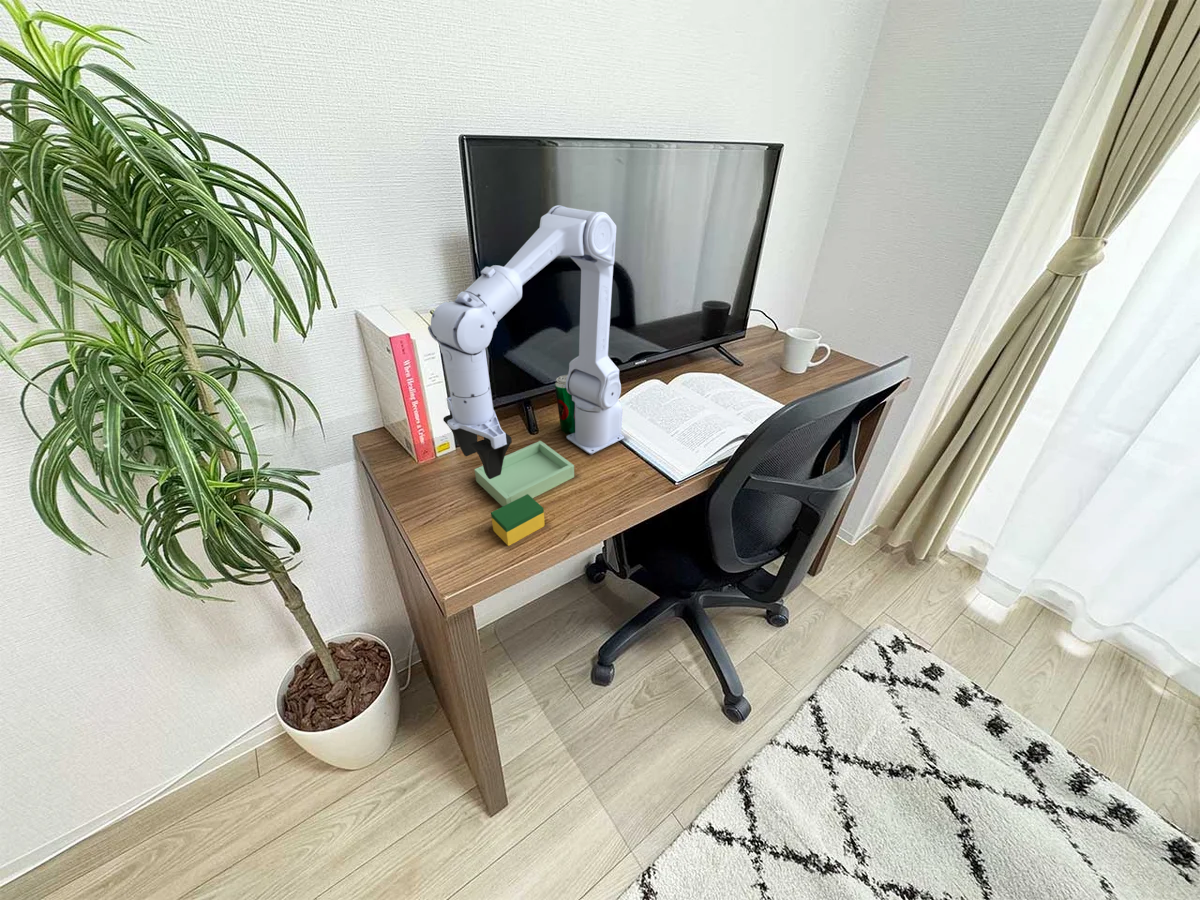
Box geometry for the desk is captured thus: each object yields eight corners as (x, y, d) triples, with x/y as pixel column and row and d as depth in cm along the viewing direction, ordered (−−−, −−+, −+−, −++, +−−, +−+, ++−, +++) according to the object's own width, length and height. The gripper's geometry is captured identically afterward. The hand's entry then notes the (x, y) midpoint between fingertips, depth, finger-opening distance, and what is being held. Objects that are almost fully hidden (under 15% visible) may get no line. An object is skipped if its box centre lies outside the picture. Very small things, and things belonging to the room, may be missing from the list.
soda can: (581, 436, 99) (575, 383, 93) (558, 435, 100) (551, 383, 94) (586, 425, 104) (581, 373, 97) (564, 424, 105) (558, 373, 98)
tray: (541, 451, 95) (540, 440, 93) (574, 477, 88) (574, 465, 87) (476, 481, 87) (474, 469, 85) (507, 511, 80) (505, 498, 79)
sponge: (529, 511, 80) (527, 493, 78) (544, 526, 77) (543, 507, 75) (493, 530, 76) (490, 512, 74) (508, 546, 74) (505, 528, 71)
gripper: (422, 378, 70) (438, 452, 78) (468, 418, 61) (482, 497, 69) (465, 365, 74) (477, 437, 82) (515, 401, 65) (523, 478, 73)
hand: (482, 464), depth 75 cm, fingers open, 7 cm apart
